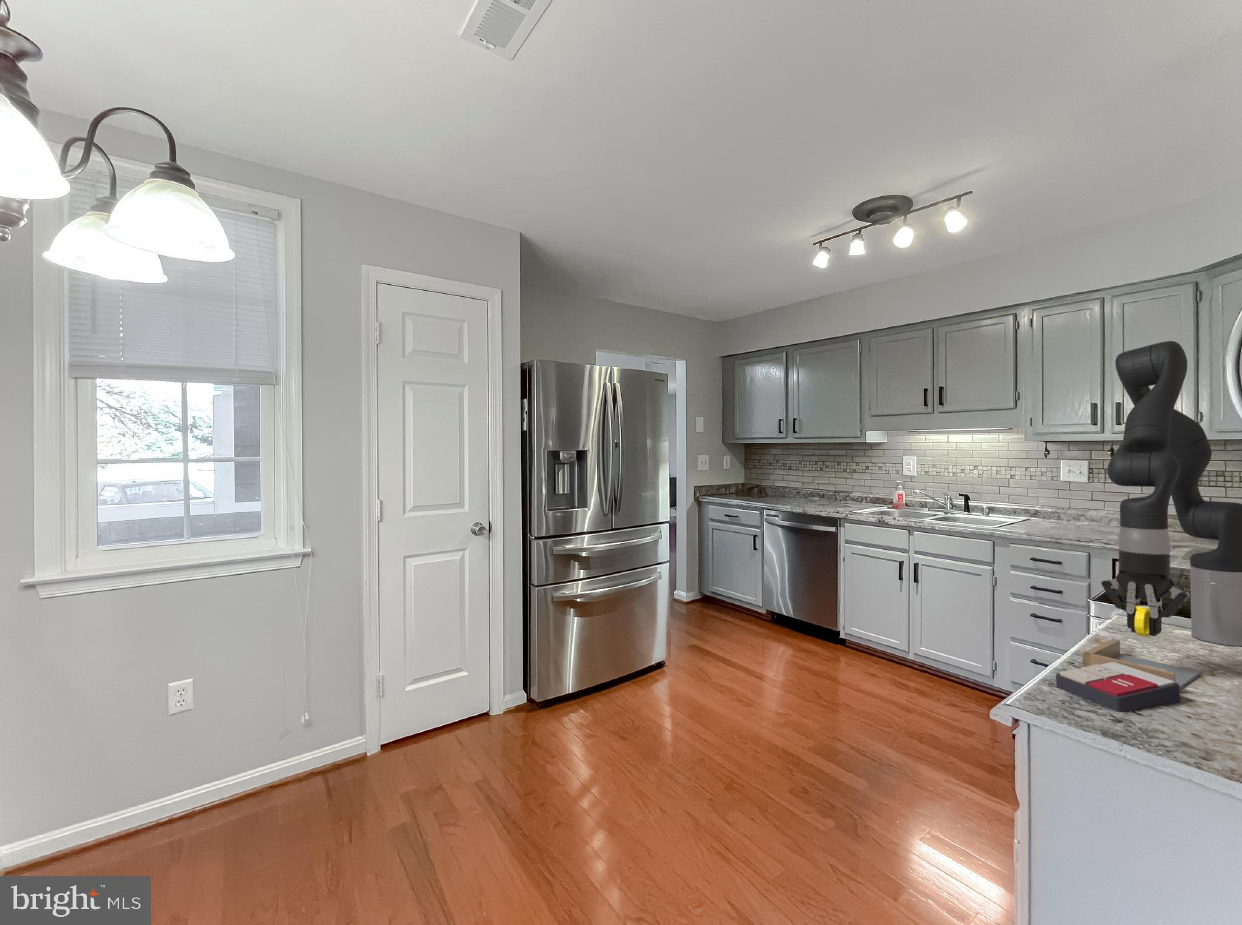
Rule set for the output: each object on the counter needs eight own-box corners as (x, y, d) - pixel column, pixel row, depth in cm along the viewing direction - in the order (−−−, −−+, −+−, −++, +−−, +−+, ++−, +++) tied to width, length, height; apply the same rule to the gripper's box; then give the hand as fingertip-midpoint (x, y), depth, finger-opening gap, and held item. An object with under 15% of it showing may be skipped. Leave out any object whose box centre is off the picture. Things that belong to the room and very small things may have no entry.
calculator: (1054, 670, 104) (1112, 658, 108) (1055, 692, 104) (1113, 679, 108) (1118, 694, 93) (1180, 679, 97) (1119, 718, 94) (1181, 703, 97)
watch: (1139, 631, 112) (1140, 603, 112) (1158, 635, 110) (1158, 606, 110) (1129, 634, 109) (1130, 605, 109) (1148, 638, 106) (1148, 608, 107)
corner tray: (1113, 654, 120) (1112, 638, 120) (1200, 675, 108) (1199, 657, 108) (1082, 670, 112) (1082, 652, 112) (1173, 693, 100) (1173, 674, 100)
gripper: (1093, 546, 113) (1093, 627, 113) (1185, 556, 101) (1185, 647, 101) (1107, 543, 117) (1108, 621, 117) (1197, 552, 105) (1198, 640, 105)
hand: (1144, 633), depth 109 cm, fingers closed on watch, 2 cm apart
